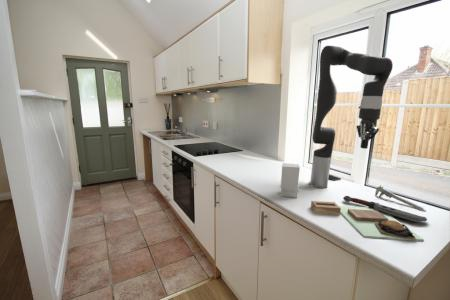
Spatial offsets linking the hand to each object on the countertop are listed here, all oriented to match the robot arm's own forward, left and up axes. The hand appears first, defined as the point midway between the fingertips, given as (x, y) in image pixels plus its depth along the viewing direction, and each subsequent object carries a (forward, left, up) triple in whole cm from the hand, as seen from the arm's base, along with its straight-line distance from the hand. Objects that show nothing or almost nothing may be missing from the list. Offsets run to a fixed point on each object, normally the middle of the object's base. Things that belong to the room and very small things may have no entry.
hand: (363, 148), depth 97 cm
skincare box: (-9, -28, -27) cm, 40 cm away
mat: (+14, 0, -27) cm, 30 cm away
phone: (-44, +5, -28) cm, 52 cm away
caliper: (-7, +24, -28) cm, 37 cm away
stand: (+7, -16, -27) cm, 32 cm away
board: (+12, +5, -26) cm, 29 cm away
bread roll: (+22, +3, -27) cm, 35 cm away
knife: (+4, +9, -27) cm, 29 cm away
